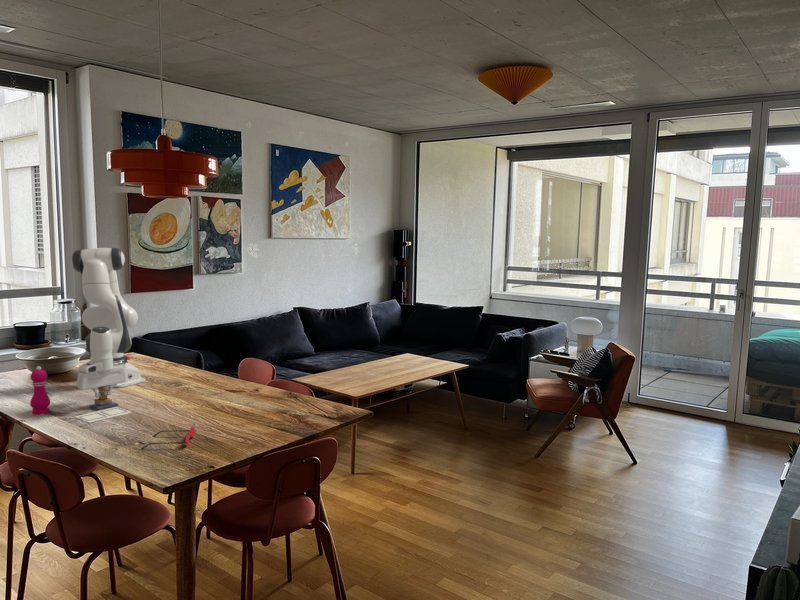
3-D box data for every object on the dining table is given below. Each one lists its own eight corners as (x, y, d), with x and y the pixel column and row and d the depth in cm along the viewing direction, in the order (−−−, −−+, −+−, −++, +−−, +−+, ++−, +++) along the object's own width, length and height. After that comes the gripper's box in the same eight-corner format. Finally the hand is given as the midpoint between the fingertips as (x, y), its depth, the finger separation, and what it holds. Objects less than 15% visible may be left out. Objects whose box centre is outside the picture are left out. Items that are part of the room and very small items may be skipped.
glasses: (188, 450, 216) (187, 436, 215) (140, 450, 214) (139, 437, 214) (197, 436, 230) (197, 424, 229) (152, 437, 228) (152, 424, 228)
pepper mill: (30, 416, 247) (27, 368, 245) (31, 411, 254) (29, 365, 252) (50, 414, 251) (48, 367, 248) (51, 409, 257) (49, 363, 255)
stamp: (106, 401, 266) (105, 382, 265) (112, 403, 263) (111, 384, 262) (94, 403, 262) (94, 384, 261) (100, 405, 259) (100, 386, 258)
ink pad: (109, 403, 269) (109, 400, 268) (118, 406, 264) (118, 403, 264) (89, 407, 261) (89, 404, 261) (97, 410, 257) (97, 407, 257)
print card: (116, 407, 262) (116, 406, 262) (131, 412, 255) (131, 411, 255) (74, 417, 248) (74, 416, 248) (89, 423, 241) (89, 422, 241)
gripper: (121, 359, 271) (122, 390, 272) (74, 367, 254) (75, 399, 256) (128, 361, 267) (129, 392, 269) (82, 369, 251) (83, 402, 252)
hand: (103, 396), depth 262 cm, fingers closed on stamp, 3 cm apart
